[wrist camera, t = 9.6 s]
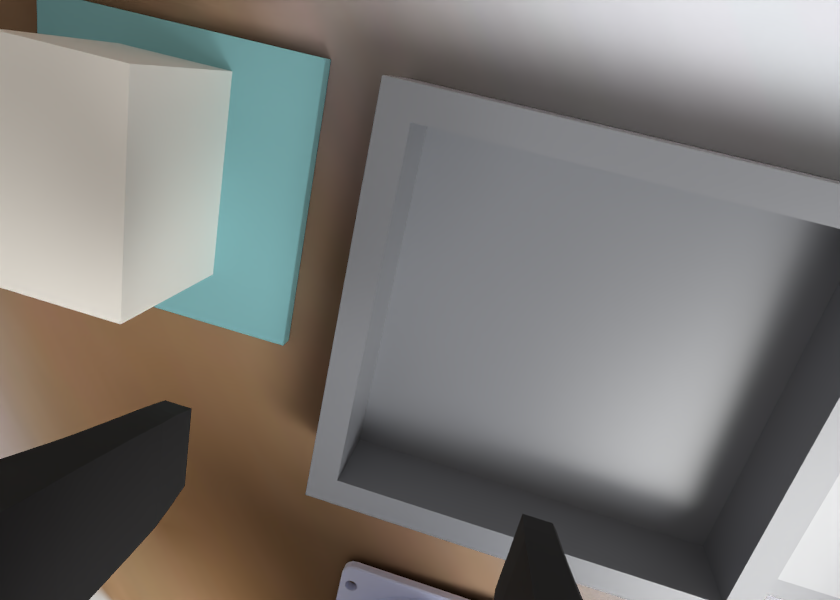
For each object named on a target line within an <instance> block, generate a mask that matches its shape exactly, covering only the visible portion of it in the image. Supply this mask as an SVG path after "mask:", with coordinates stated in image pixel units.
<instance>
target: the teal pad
mask: <svg viewBox="0 0 840 600" xmlns="http://www.w3.org/2000/svg"><path fill="white" fill-rule="evenodd" d="M37 33H38V34H46V35H55V36H63V37H71V38H79V39H88V40H96V41H104V42H113V43H120V44H124V45H128V46H132V47H136V48H140V49H144V50H148V51H152V52H156V53H160V54H164V55H168V56H172V57H176V58H180V59H185V60H189V61H193V62H197V63H201V64H205V65H209V66H213V67H217V68H221V69H225V70H229V71H232V80H231V91H230V101H229V112H228V122H227V133H226V143H225V154H224V164H223V175H222V185H221V196H220V206H219V217H218V227H217V238H216V248H215V259H214V269H213V275H211V276H209V277H207V278H205V279H203V280H202V281H200V282H198V283H196V284H194V285H192V286H191V287H189V288H187V289H185V290H183V291H181V292H179V293H178V294H176V295H174V296H172V297H170V298H168V299H166V300H165V301H163V302H161V303H159V304H157V305H155V306H154V307H156V308H159V309H162V310H166V311H169V312H172V313H176V314H179V315H182V316H186V317H189V318H192V319H196V320H199V321H202V322H206V323H209V324H213V325H216V326H219V327H223V328H226V329H229V330H233V331H236V332H239V333H243V334H246V335H249V336H253V337H256V338H259V339H263V340H266V341H269V342H273V343H276V344H279V345H284V344H285V343H286V342H287V341H288V340H289V334H290V328H291V321H292V315H293V308H294V301H295V295H296V288H297V281H298V275H299V268H300V262H301V255H302V248H303V242H304V235H305V229H306V222H307V215H308V209H309V202H310V196H311V189H312V182H313V176H314V169H315V163H316V156H317V149H318V143H319V136H320V129H321V123H322V116H323V110H324V103H325V96H326V90H327V83H328V77H329V70H330V63H331V59H327V58H322V57H318V56H314V55H310V54H306V53H301V52H297V51H293V50H289V49H285V48H281V47H276V46H272V45H268V44H264V43H260V42H256V41H251V40H247V39H243V38H239V37H235V36H230V35H226V34H222V33H218V32H214V31H210V30H205V29H201V28H197V27H193V26H189V25H185V24H180V23H176V22H172V21H168V20H164V19H159V18H155V17H151V16H147V15H143V14H139V13H134V12H130V11H126V10H122V9H118V8H114V7H109V6H105V5H101V4H97V3H93V2H88V1H84V0H37Z"/></svg>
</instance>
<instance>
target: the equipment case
mask: <svg viewBox="0 0 840 600" xmlns="http://www.w3.org/2000/svg"><path fill="white" fill-rule="evenodd" d="M305 495H308V496H311V497H314V498H317V499H320V500H323V501H326V502H329V503H332V504H335V505H338V506H342V507H345V508H348V509H351V510H354V511H357V512H360V513H363V514H366V515H369V516H372V517H375V518H378V519H381V520H384V521H387V522H390V523H394V524H397V525H400V526H403V527H406V528H409V529H412V530H415V531H418V532H421V533H424V534H427V535H430V536H433V537H436V538H439V539H443V540H446V541H449V542H452V543H455V544H458V545H461V546H464V547H467V548H470V549H473V550H476V551H479V552H482V553H485V554H488V555H491V556H495V557H498V558H501V559H504V560H506V558H507V555H508V553H509V550H510V547H511V544H512V541H513V539H514V536H515V533H516V530H517V527H518V525H519V522H520V519H521V516H522V514H525V515H528V516H532V517H535V518H538V519H541V520H544V521H547V522H551V523H553V525H554V527H555V528H556V531H557V534H558V537H559V539H560V542H561V545H562V548H563V551H564V554H565V556H566V559H567V562H568V564H569V567H570V569H571V572H572V575H573V577H574V580H575V582H576V583H577V584H580V585H583V586H586V587H589V588H592V589H595V590H599V591H602V592H605V593H608V594H611V595H614V596H617V597H620V598H623V599H626V600H765V599H766V598H767V596H768V595H769V596H772V597H776V598H779V599H782V600H840V181H836V180H832V179H828V178H824V177H819V176H815V175H811V174H807V173H803V172H798V171H794V170H790V169H786V168H782V167H778V166H773V165H769V164H765V163H761V162H757V161H753V160H748V159H744V158H740V157H736V156H732V155H727V154H723V153H719V152H715V151H711V150H707V149H702V148H698V147H694V146H690V145H686V144H682V143H677V142H673V141H669V140H665V139H661V138H656V137H652V136H648V135H644V134H640V133H636V132H631V131H627V130H623V129H619V128H615V127H611V126H606V125H602V124H598V123H594V122H590V121H585V120H581V119H577V118H573V117H569V116H565V115H560V114H556V113H552V112H548V111H544V110H540V109H535V108H531V107H527V106H523V105H519V104H514V103H510V102H506V101H502V100H498V99H494V98H489V97H485V96H481V95H477V94H473V93H469V92H464V91H460V90H456V89H452V88H448V87H443V86H439V85H435V84H431V83H427V82H423V81H418V80H414V79H410V78H405V77H397V76H389V75H382V78H381V84H380V89H379V95H378V100H377V106H376V111H375V117H374V122H373V128H372V133H371V139H370V144H369V150H368V155H367V161H366V166H365V171H364V177H363V182H362V188H361V193H360V199H359V204H358V210H357V215H356V221H355V226H354V232H353V237H352V243H351V248H350V254H349V259H348V264H347V270H346V275H345V281H344V286H343V292H342V297H341V303H340V308H339V314H338V319H337V325H336V330H335V336H334V341H333V347H332V352H331V358H330V363H329V368H328V374H327V379H326V385H325V390H324V396H323V401H322V407H321V412H320V418H319V423H318V429H317V434H316V440H315V445H314V451H313V456H312V461H311V467H310V472H309V478H308V483H307V489H306V494H305Z"/></svg>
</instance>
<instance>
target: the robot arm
mask: <svg viewBox="0 0 840 600" xmlns="http://www.w3.org/2000/svg"><path fill="white" fill-rule="evenodd" d="M190 419H191V408H188V407H185V406H181V405H178V404H175V403H172V402H169V401H166V400H165V401H162V402H159V403H156V404H153V405H150V406H148V407H145V408H142V409H139V410H137V411H134V412H132V413H129V414H126V415H124V416H121V417H119V418H116V419H113V420H111V421H108V422H105V423H103V424H100V425H98V426H95V427H92V428H90V429H87V430H84V431H82V432H79V433H76V434H74V435H71V436H68V437H65V438H63V439H60V440H57V441H54V442H51V443H48V444H45V445H42V446H39V447H36V448H33V449H30V450H27V451H24V452H21V453H18V454H15V455H12V456H9V457H6V458H2V459H0V600H89V599H90V598H91V597H92V596H93V595H94V594H95V593H96V592H97V591H98V590H99V588H100V587H101V586H102V585H103V584H104V583H105V582H106V581H107V580H108V579H109V578H110V576H111V575H112V574H113V573H114V572H115V571H116V570H117V569H118V568H119V567H120V566H121V564H122V563H123V562H124V561H125V560H126V559H127V558H128V557H129V556H130V555H131V554H132V552H133V551H134V550H135V549H136V548H137V547H138V546H139V545H140V544H141V542H142V541H143V540H144V539H145V538H146V537H147V536H148V535H149V534H150V532H151V531H152V530H153V529H154V528H155V527H156V525H157V524H158V523H159V521H160V520H161V519H162V517H163V516H164V515H165V513H166V512H167V510H168V509H169V508H170V506H171V505H172V503H173V502H174V500H175V499H176V497H177V496H178V495H179V493H180V492H181V490H182V489H183V487H184V486H185V476H186V465H187V453H188V442H189V431H190ZM350 581H353V582H355V583H356V584H355V583H352V582H350ZM336 600H469V599H466V598H464V597H461V596H458V595H455V594H452V593H449V592H446V591H443V590H440V589H437V588H434V587H431V586H428V585H425V584H422V583H419V582H416V581H413V580H410V579H407V578H404V577H401V576H398V575H395V574H392V573H389V572H386V571H383V570H380V569H377V568H374V567H371V566H368V565H365V564H363V563H360V562H355V561H351V562H348V563H347V564H346V565H345V567H344V569H343V571H342V575H341V580H340V584H339V588H338V593H337V597H336ZM494 600H583V599H582V597H581V594H580V592H579V590H578V587H577V585H576V582H575V580H574V577H573V575H572V572H571V569H570V567H569V564H568V562H567V559H566V556H565V554H564V551H563V548H562V545H561V542H560V539H559V537H558V534H557V531H556V528H555V527H554V525H553V523H551V522H547V521H544V520H541V519H538V518H535V517H532V516H528V515H525V514H522V516H521V519H520V522H519V525H518V527H517V530H516V533H515V536H514V539H513V541H512V544H511V547H510V550H509V553H508V555H507V558H506V561H505V564H504V567H503V569H502V572H501V575H500V578H499V581H498V583H497V586H496V589H495V595H494Z"/></svg>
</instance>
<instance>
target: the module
mask: <svg viewBox="0 0 840 600" xmlns="http://www.w3.org/2000/svg"><path fill="white" fill-rule="evenodd" d="M231 80H232V71H229V70H225V69H221V68H217V67H213V66H209V65H205V64H201V63H197V62H193V61H189V60H185V59H180V58H176V57H172V56H168V55H164V54H160V53H156V52H152V51H148V50H144V49H140V48H136V47H132V46H128V45H124V44H120V43H113V42H104V41H96V40H88V39H79V38H71V37H63V36H55V35H46V34H38V33H30V32H21V31H13V30H5V29H0V288H3V289H6V290H10V291H13V292H16V293H20V294H23V295H26V296H29V297H33V298H36V299H39V300H43V301H46V302H49V303H52V304H56V305H59V306H62V307H65V308H69V309H72V310H75V311H79V312H82V313H85V314H88V315H92V316H95V317H98V318H101V319H105V320H108V321H111V322H115V323H118V324H122V323H124V322H126V321H128V320H130V319H131V318H133V317H135V316H137V315H139V314H141V313H142V312H144V311H146V310H148V309H150V308H152V307H154V306H155V305H157V304H159V303H161V302H163V301H165V300H166V299H168V298H170V297H172V296H174V295H176V294H178V293H179V292H181V291H183V290H185V289H187V288H189V287H191V286H192V285H194V284H196V283H198V282H200V281H202V280H203V279H205V278H207V277H209V276H211V275H213V269H214V259H215V248H216V238H217V227H218V217H219V206H220V196H221V185H222V175H223V164H224V154H225V143H226V133H227V122H228V112H229V101H230V91H231Z"/></svg>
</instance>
